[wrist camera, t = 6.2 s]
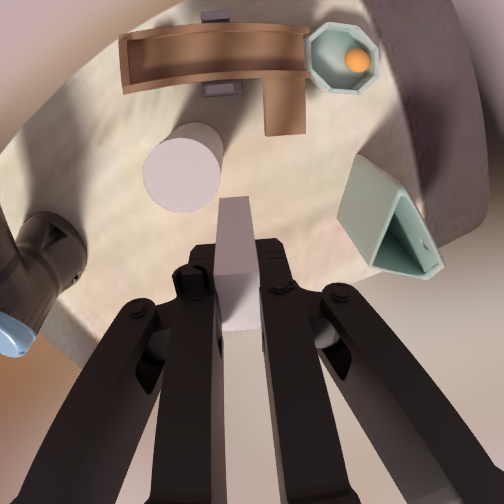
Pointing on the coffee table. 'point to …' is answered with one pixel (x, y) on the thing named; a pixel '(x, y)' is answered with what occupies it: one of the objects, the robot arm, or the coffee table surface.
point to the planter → (387, 223)
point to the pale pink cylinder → (185, 168)
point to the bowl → (339, 58)
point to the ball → (357, 60)
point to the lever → (224, 63)
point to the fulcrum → (219, 85)
